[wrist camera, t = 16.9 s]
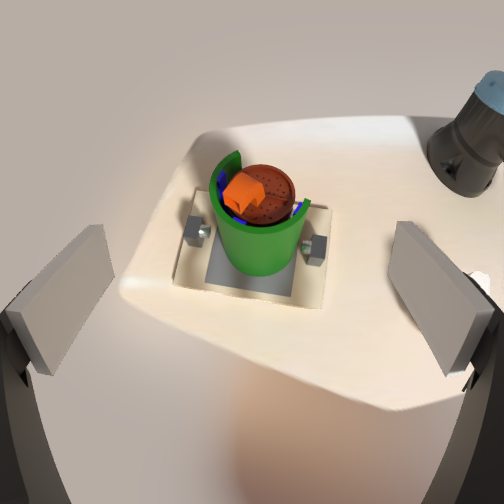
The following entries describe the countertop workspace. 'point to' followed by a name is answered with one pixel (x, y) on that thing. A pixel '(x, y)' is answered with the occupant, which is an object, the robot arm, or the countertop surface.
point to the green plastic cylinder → (256, 215)
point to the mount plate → (251, 287)
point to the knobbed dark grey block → (196, 231)
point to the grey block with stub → (315, 250)
